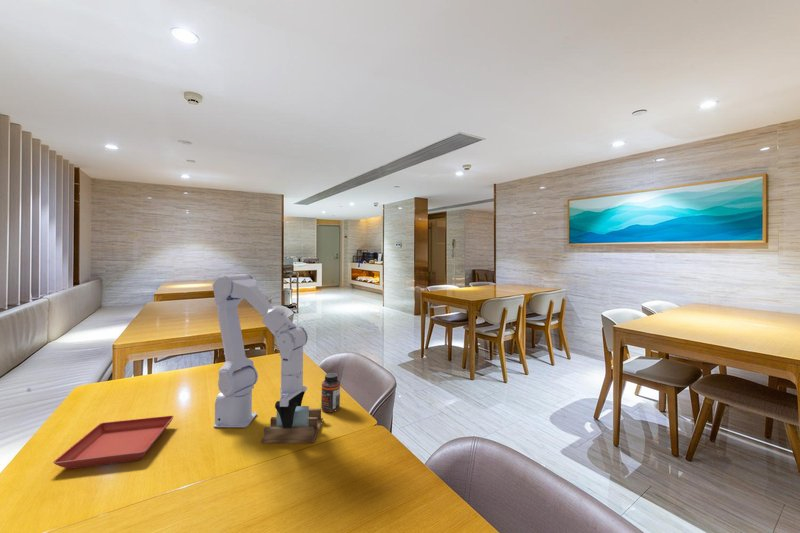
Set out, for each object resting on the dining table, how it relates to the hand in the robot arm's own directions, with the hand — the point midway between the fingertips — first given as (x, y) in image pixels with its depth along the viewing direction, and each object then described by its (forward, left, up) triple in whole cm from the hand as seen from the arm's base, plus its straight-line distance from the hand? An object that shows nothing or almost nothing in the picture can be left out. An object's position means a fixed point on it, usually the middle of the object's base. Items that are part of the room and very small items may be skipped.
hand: (291, 420), depth 91 cm
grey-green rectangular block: (0, 0, -4) cm, 4 cm away
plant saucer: (-42, -5, -5) cm, 43 cm away
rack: (0, +3, -4) cm, 5 cm away
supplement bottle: (+8, +16, -5) cm, 19 cm away
